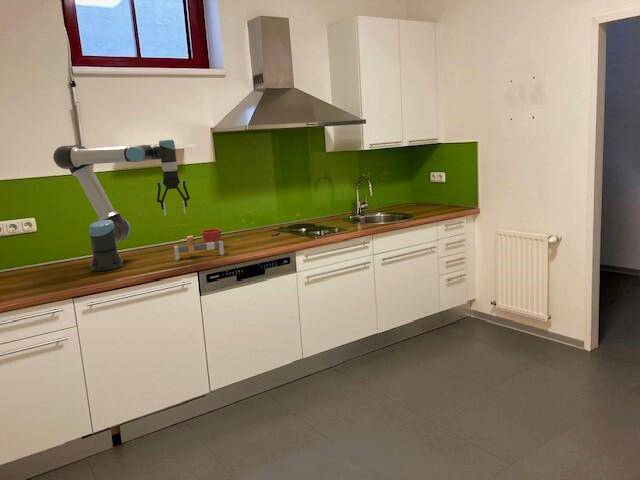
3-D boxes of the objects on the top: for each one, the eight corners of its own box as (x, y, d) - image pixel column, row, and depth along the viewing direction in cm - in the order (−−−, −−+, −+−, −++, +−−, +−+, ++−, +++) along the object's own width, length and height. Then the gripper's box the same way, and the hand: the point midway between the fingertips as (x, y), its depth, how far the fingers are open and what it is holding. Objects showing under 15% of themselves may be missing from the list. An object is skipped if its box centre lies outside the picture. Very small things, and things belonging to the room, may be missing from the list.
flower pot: (211, 244, 310) (210, 228, 309) (226, 245, 305) (224, 229, 303) (199, 248, 302) (197, 231, 300) (213, 249, 296) (212, 232, 294)
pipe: (175, 260, 276) (174, 247, 274) (175, 258, 281) (174, 245, 280) (224, 254, 281) (223, 242, 280) (223, 252, 287) (222, 240, 286)
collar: (189, 256, 276) (187, 238, 274) (188, 253, 283) (186, 235, 281) (195, 255, 277) (192, 237, 275) (194, 252, 284) (192, 235, 282)
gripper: (147, 172, 264) (153, 217, 268) (192, 169, 269) (197, 213, 273) (148, 171, 271) (153, 215, 275) (191, 168, 276) (196, 211, 281)
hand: (175, 214), depth 274 cm, fingers open, 9 cm apart
